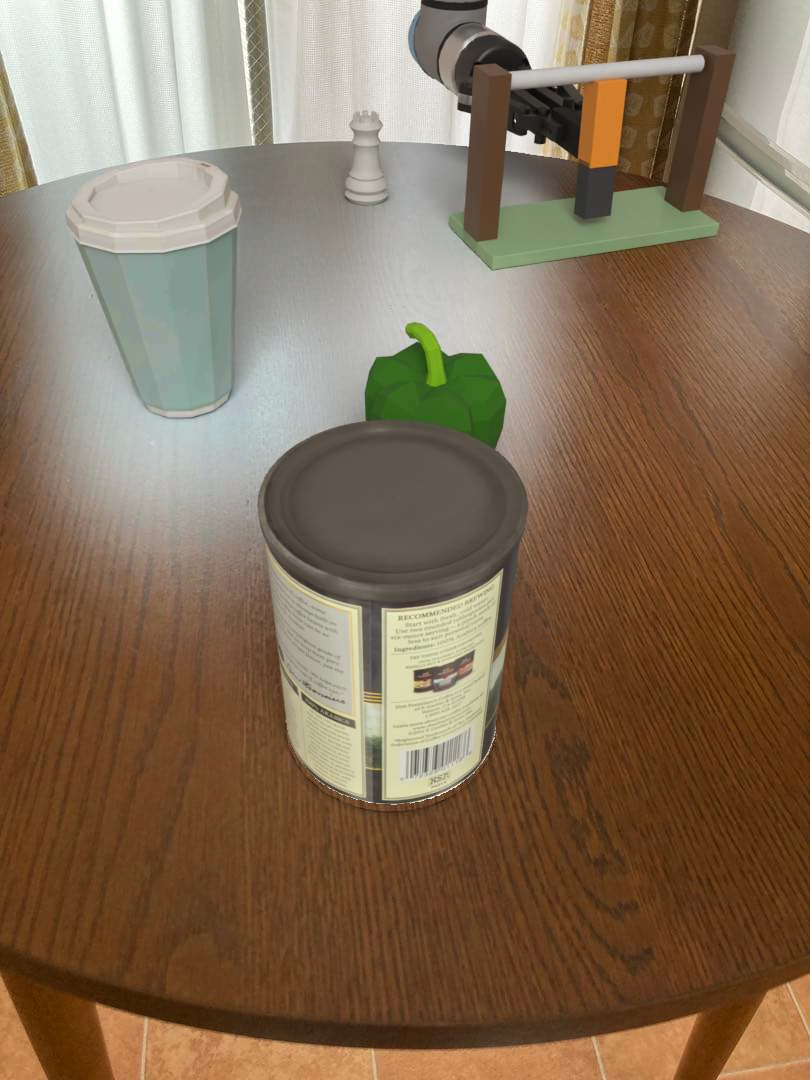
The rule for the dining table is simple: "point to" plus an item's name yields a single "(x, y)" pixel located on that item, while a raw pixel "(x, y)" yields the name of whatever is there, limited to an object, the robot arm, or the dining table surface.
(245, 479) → the dining table surface
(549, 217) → the foosball stand
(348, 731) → the coffee can
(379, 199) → the rook chess piece
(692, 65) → the foosball rod
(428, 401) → the bell pepper
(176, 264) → the disposable coffee cup
